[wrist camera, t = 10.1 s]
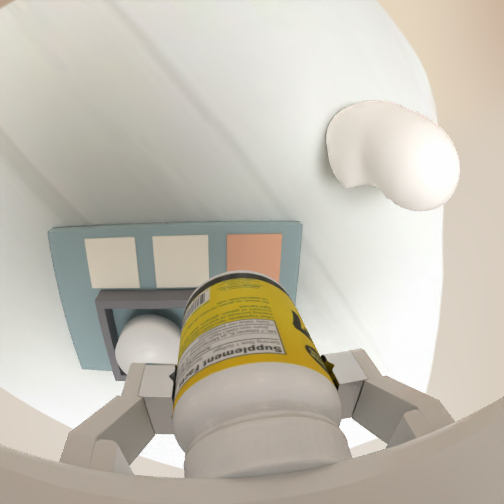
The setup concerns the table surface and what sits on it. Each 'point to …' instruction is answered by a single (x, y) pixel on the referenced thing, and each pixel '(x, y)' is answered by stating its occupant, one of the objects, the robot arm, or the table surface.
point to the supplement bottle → (252, 384)
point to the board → (156, 272)
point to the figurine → (393, 154)
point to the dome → (148, 341)
